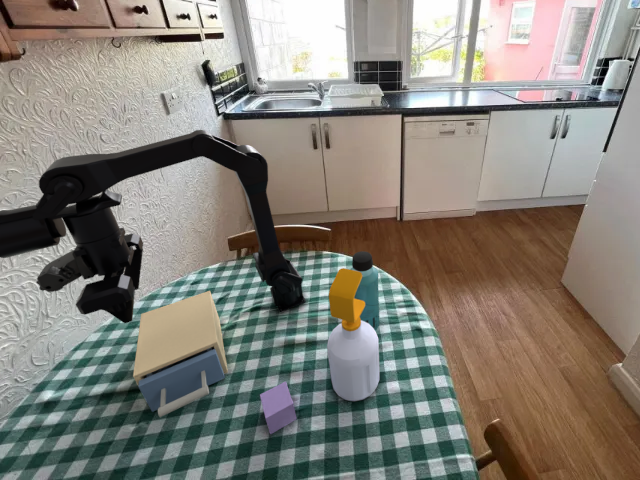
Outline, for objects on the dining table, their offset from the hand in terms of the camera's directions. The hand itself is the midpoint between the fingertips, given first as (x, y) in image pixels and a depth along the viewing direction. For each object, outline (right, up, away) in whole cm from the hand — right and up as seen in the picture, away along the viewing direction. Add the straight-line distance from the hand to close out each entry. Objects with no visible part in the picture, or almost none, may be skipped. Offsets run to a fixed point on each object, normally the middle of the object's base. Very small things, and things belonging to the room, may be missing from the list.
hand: (132, 304), depth 58 cm
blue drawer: (+9, -14, +2) cm, 17 cm away
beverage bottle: (+43, -10, +12) cm, 45 cm away
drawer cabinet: (+7, -13, +6) cm, 16 cm away
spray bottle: (+42, -15, +1) cm, 44 cm away
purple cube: (+29, -17, -4) cm, 34 cm away
